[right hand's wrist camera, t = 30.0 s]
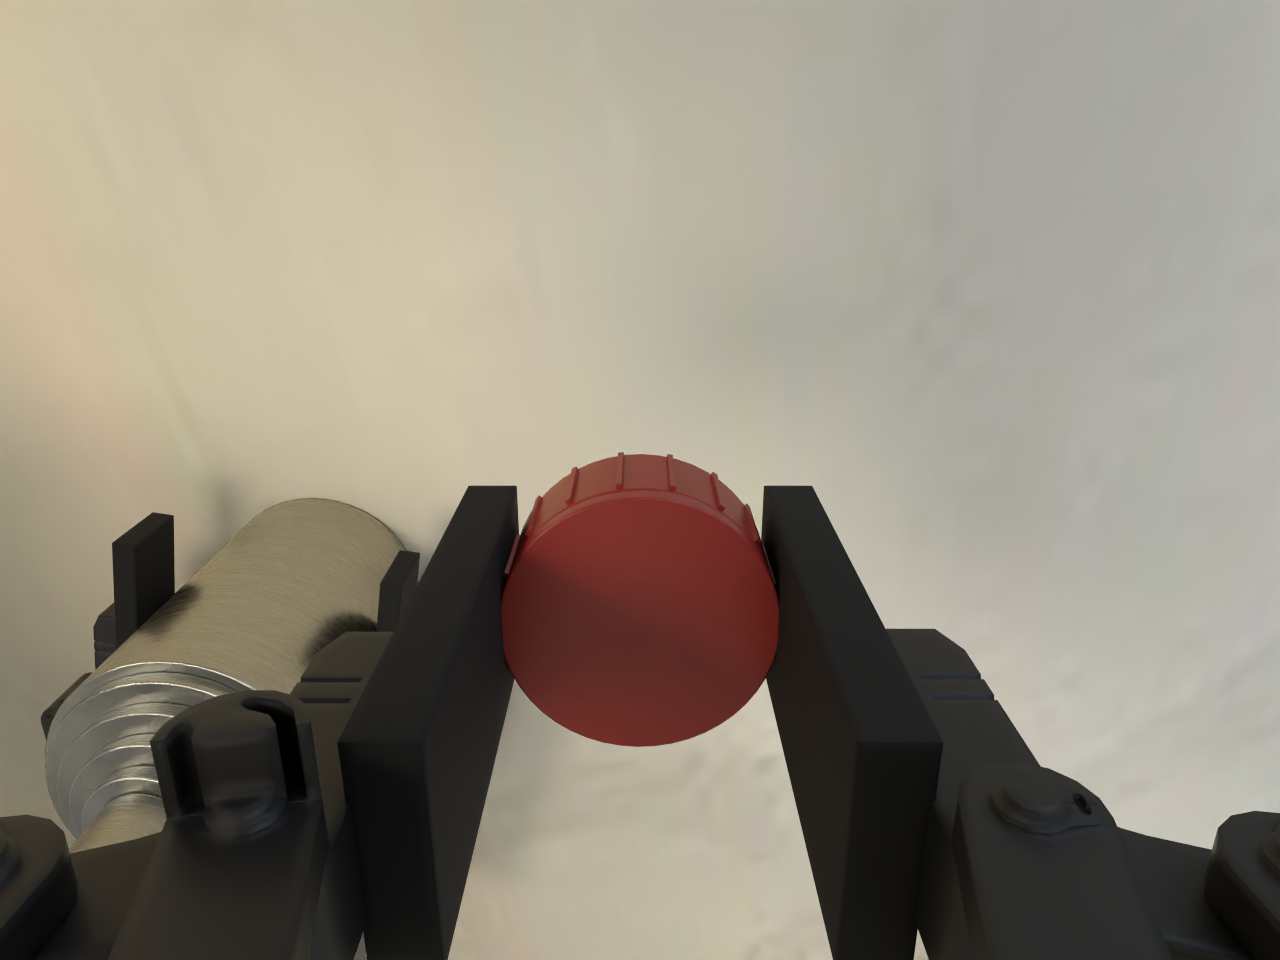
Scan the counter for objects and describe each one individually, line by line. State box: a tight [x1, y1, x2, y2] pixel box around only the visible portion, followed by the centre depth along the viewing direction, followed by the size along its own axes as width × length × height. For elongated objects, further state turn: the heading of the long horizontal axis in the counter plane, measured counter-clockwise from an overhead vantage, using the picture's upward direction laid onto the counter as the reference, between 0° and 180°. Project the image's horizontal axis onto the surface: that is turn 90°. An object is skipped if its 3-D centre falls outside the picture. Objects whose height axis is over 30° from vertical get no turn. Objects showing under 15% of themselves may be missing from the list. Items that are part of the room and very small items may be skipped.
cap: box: [501, 452, 779, 747], centre depth 13 cm, size 4×4×2 cm
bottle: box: [46, 499, 418, 853], centre depth 31 cm, size 8×8×18 cm
